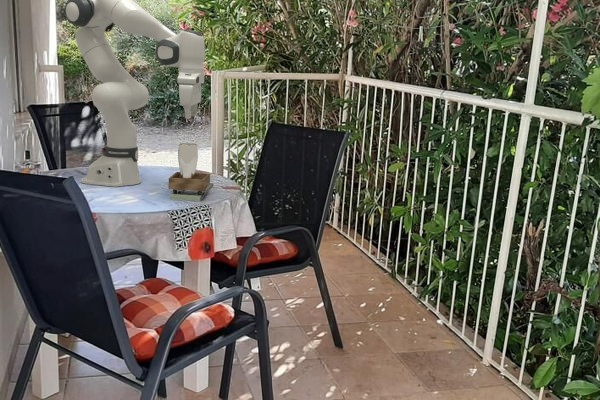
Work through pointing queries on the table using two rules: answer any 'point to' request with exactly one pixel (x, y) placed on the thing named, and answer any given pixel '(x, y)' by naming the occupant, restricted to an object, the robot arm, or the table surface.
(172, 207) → the table surface
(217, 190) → the table surface
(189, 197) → the track
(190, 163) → the beer glass
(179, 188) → the tray
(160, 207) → the table surface
